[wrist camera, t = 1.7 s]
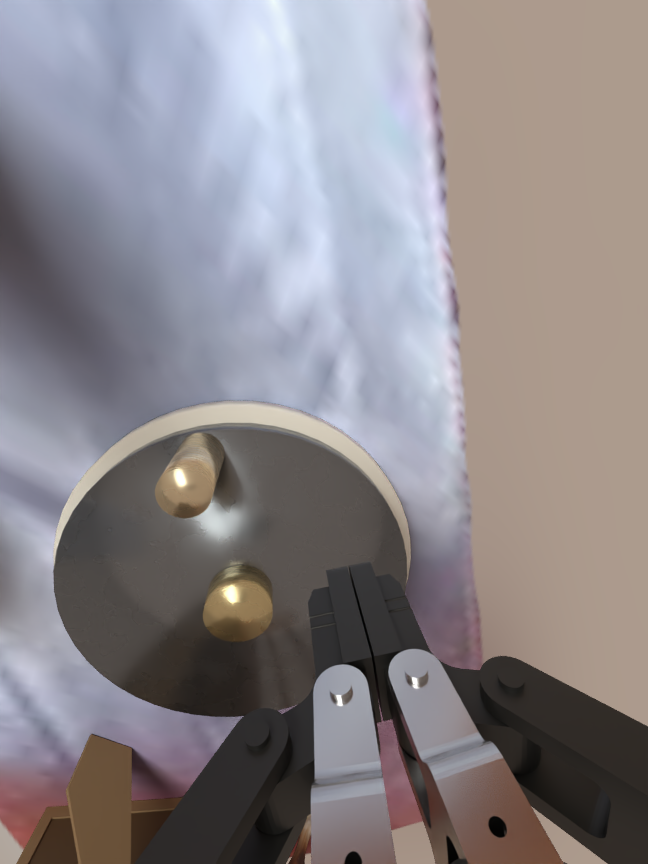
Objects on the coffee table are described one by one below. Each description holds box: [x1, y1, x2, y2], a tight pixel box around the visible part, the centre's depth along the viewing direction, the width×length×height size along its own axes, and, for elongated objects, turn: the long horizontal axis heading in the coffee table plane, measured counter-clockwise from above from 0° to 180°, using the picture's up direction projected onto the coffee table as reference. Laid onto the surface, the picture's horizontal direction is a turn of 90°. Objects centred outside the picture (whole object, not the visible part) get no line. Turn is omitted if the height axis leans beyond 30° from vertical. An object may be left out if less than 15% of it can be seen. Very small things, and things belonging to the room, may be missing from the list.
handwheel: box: [54, 423, 407, 717], centre depth 29 cm, size 27×27×8 cm
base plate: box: [53, 400, 411, 583], centre depth 34 cm, size 29×29×2 cm
